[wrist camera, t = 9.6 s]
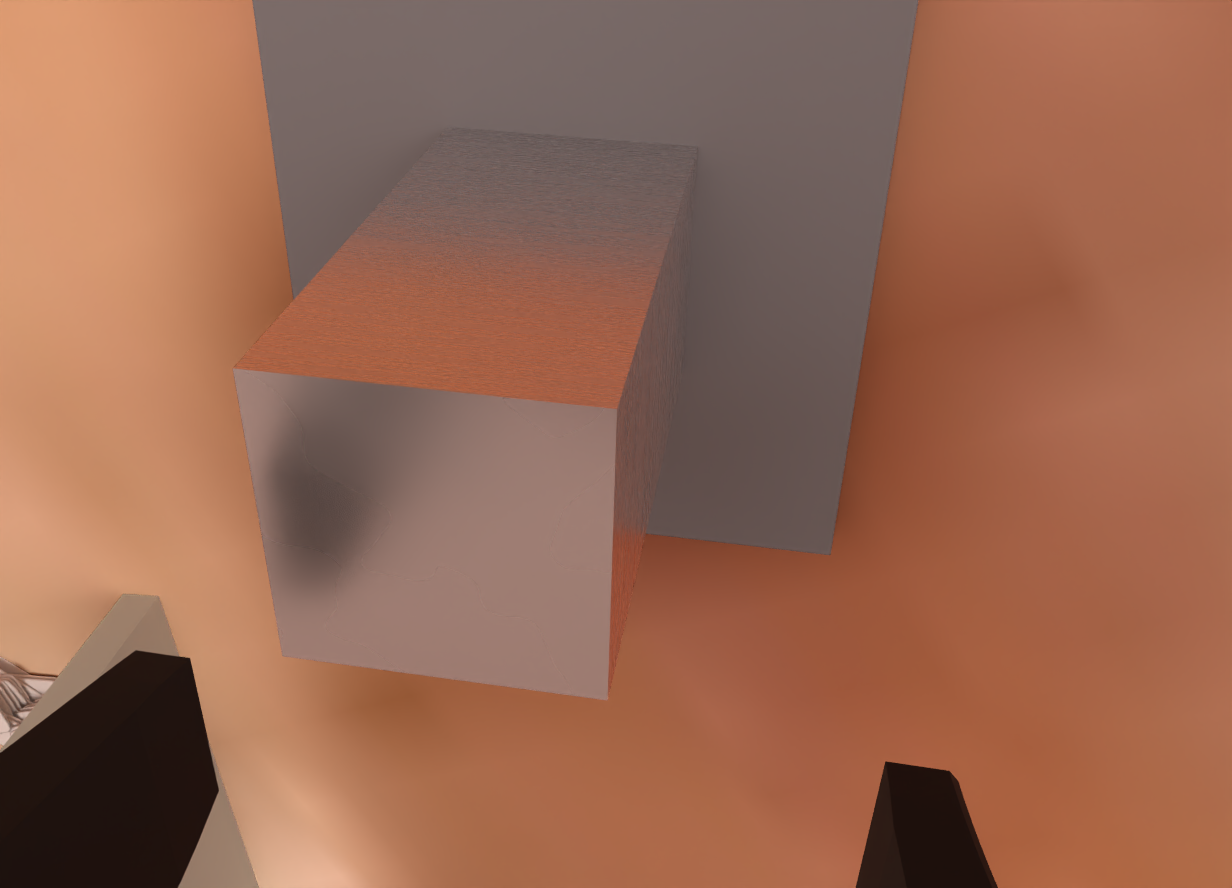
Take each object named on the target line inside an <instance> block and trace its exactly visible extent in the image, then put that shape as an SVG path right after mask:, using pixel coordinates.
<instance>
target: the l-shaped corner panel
mask: <svg viewBox="0 0 1232 888" xmlns="http://www.w3.org/2000/svg"><path fill="white" fill-rule="evenodd" d="M135 650H138V651H145V652H151V653H158V654H165V655H172V656H178V657H180V656H179V653H178V650H177V647H176V645H175V642H174V639H173V636H172V633H171V630H170V627H169V624H168V621H167V618H166V615H165V613H164V610H163V607H162V604H161V601H160V598H159V596H150V595H134V594H123V595H122V596H121V597H120V598H119V600H118V601H117V602H116V603H115V605H114V606H113V607H112V609H111V610H110V611H109V612H108V614H107V615H106V616H105V617H104V619H103V620H102V621H101V623H100V624H99V625H98V626H97V628H96V629H95V630H94V631H93V633H92V634H91V635H90V637H89V638H88V639H87V640H86V642H85V643H84V644H83V645H82V647H81V648H80V649H79V650H78V652H77V653H76V654H75V656H74V657H73V658H72V659H71V661H70V662H69V663H68V664H67V666H66V667H65V668H64V670H63V671H62V672H61V673H60V675H59V676H58V677H57V678H56V677H47V676H34V675H30V674H28V673H27V672H25V671H23V670H22V669H20V668H18V667H17V666H15V665H14V664H12V663H10V662H9V661H7V660H6V659H4V658H2V657H1V656H0V744H1V745H3V747H2V748H1V750H0V752H2V751H3V750H4V749H6V748H7V747H9V746H10V745H11V744H13V743H14V742H15V741H16V740H18V739H19V738H20V737H22V736H23V735H24V734H26V733H27V732H28V731H30V730H31V729H32V728H34V727H35V726H36V725H37V724H39V723H40V722H41V721H43V720H44V719H45V718H47V717H48V716H49V715H51V714H52V713H53V712H55V711H56V710H57V709H58V708H60V707H61V706H62V705H64V704H65V703H66V702H68V701H69V700H70V699H71V698H73V697H74V696H75V695H77V694H78V693H79V692H81V691H82V690H83V689H85V688H86V687H87V686H89V685H90V684H91V683H92V682H94V681H95V680H96V679H98V678H99V677H100V676H102V675H103V674H104V673H106V672H107V671H108V670H110V669H111V668H112V667H114V666H115V665H116V664H118V663H119V662H120V661H122V660H123V659H124V658H126V657H127V656H128V655H130V654H131V653H133V652H134V651H135ZM208 742H209V741H208ZM209 747H210V744H209ZM210 752H211V756H212V761H213V765H214V770H215V774H216V779H217V783H218V788H219V792H218V795H217V797H216V800H215V802H214V805H213V807H212V810H211V812H210V814H209V817H208V819H207V822H206V824H205V827H204V829H203V832H202V834H201V837H200V839H199V842H198V844H197V846H196V849H195V851H194V853H193V856H192V858H191V860H190V862H189V865H188V867H187V869H186V872H185V874H184V876H183V878H182V881H181V883H180V885H179V886H178V888H259V886H258V883H257V881H256V878H255V875H254V872H253V869H252V866H251V863H250V860H249V857H248V854H247V851H246V849H245V846H244V843H243V840H242V837H241V834H240V831H239V828H238V825H237V822H236V819H235V816H234V814H233V811H232V808H231V805H230V802H229V799H228V796H227V793H226V790H225V787H224V784H223V782H222V779H221V776H220V773H219V770H218V767H217V764H216V761H215V758H214V755H213V752H212V749H211V747H210Z"/></svg>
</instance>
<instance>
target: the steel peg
mask: <svg viewBox="0 0 1232 888" xmlns="http://www.w3.org/2000/svg"><path fill="white" fill-rule="evenodd" d="M697 152H698V147H697V146H684V145H671V144H659V143H646V142H633V141H621V140H608V139H595V138H583V137H570V136H557V135H545V134H532V133H519V132H507V131H494V130H481V129H469V128H456V127H448V128H447V129H446V130H445V131H444V132H443V133H442V134H441V135H440V136H439V138H438V139H437V140H436V141H435V142H434V143H433V144H432V145H431V147H430V148H429V149H428V150H427V151H426V152H425V153H424V154H423V156H422V157H421V158H420V159H419V160H418V161H417V162H416V163H415V165H414V166H413V167H412V168H411V169H410V170H409V171H408V172H407V174H406V175H405V176H404V177H403V178H402V179H401V180H400V181H399V182H398V184H397V185H396V186H395V187H394V188H393V189H392V190H391V191H390V193H389V194H388V195H387V196H386V197H385V198H384V199H383V200H382V202H381V203H380V204H379V205H378V206H377V207H376V208H375V209H374V211H373V212H372V213H371V214H370V215H369V216H368V217H367V218H366V219H365V221H364V222H363V223H362V224H361V225H360V226H359V227H358V228H357V230H356V231H355V232H354V233H353V234H352V235H351V236H350V237H349V239H348V240H347V241H346V242H345V243H344V244H343V245H342V246H341V248H340V249H339V250H338V251H337V252H336V253H335V254H334V255H333V257H332V258H331V259H330V260H329V261H328V262H327V263H326V264H325V265H324V267H323V268H322V269H321V270H320V271H319V272H318V273H317V274H316V276H315V277H314V278H313V279H312V280H311V281H310V282H309V283H308V285H307V286H306V287H305V288H304V289H303V290H302V291H301V292H300V294H299V295H298V296H297V297H296V298H295V299H294V300H293V301H292V302H291V304H290V305H289V306H288V307H287V308H286V309H285V310H284V311H283V313H282V314H281V315H280V316H279V317H278V318H277V319H276V320H275V322H274V323H273V324H272V325H271V326H270V327H269V328H268V329H267V331H266V332H265V333H264V334H263V335H262V336H261V337H260V338H259V339H258V341H257V342H256V343H255V344H254V345H253V346H252V347H251V348H250V350H249V351H248V352H247V353H246V354H245V355H244V356H243V357H242V359H241V360H240V361H239V362H238V363H237V364H236V365H235V366H234V368H233V372H234V378H235V384H236V390H237V396H238V401H239V407H240V413H241V419H242V425H243V430H244V436H245V442H246V448H247V453H248V459H249V465H250V471H251V477H252V482H253V488H254V494H255V500H256V506H257V511H258V517H259V523H260V529H261V535H262V540H263V546H264V552H265V558H266V564H267V569H268V575H269V581H270V587H271V592H272V598H273V604H274V610H275V616H276V621H277V627H278V633H279V639H280V645H281V650H282V656H285V657H292V658H300V659H307V660H314V661H322V662H329V663H337V664H344V665H351V666H359V667H366V668H373V669H381V670H388V671H395V672H403V673H410V674H417V675H425V676H432V677H439V678H447V679H454V680H461V681H469V682H476V683H483V684H491V685H498V686H506V687H513V688H520V689H528V690H535V691H542V692H550V693H557V694H564V695H572V696H579V697H586V698H594V699H601V700H608V696H609V692H610V688H611V683H612V679H613V674H614V670H615V666H616V661H617V657H618V653H619V648H620V644H621V639H622V635H623V631H624V626H625V622H626V618H627V613H628V609H629V605H630V600H631V596H632V591H633V587H634V583H635V578H636V574H637V570H638V565H639V561H640V556H641V552H642V548H643V543H644V539H645V535H646V530H647V526H648V522H649V517H650V513H651V508H652V504H653V500H654V495H655V491H656V487H657V482H658V478H659V473H660V469H661V465H662V460H663V456H664V452H665V447H666V443H667V438H668V434H669V430H670V425H671V421H672V417H673V412H674V408H675V404H676V399H677V395H678V390H679V386H680V382H681V377H682V373H683V362H684V347H685V332H686V317H687V302H688V287H689V272H690V257H691V242H692V227H693V212H694V197H695V182H696V167H697Z"/></svg>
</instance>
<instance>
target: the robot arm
mask: <svg viewBox="0 0 1232 888" xmlns="http://www.w3.org/2000/svg"><path fill="white" fill-rule="evenodd" d="M218 792H219V788H218V783H217V779H216V774H215V770H214V765H213V761H212V756H211V752H210V747H209V742H208V738H207V733H206V729H205V724H204V720H203V715H202V711H201V706H200V702H199V697H198V693H197V688H196V683H195V679H194V674H193V670H192V665H191V661H190V658H185V657H178V656H172V655H165V654H158V653H151V652H145V651H138V650H135V651H134V652H133V653H131V654H130V655H128V656H127V657H126V658H124V659H123V660H122V661H120V662H119V663H118V664H116V665H115V666H114V667H112V668H111V669H110V670H108V671H107V672H106V673H104V674H103V675H102V676H100V677H99V678H98V679H96V680H95V681H94V682H92V683H91V684H90V685H89V686H87V687H86V688H85V689H83V690H82V691H81V692H79V693H78V694H77V695H75V696H74V697H73V698H71V699H70V700H69V701H68V702H66V703H65V704H64V705H62V706H61V707H60V708H58V709H57V710H56V711H55V712H53V713H52V714H51V715H49V716H48V717H47V718H45V719H44V720H43V721H41V722H40V723H39V724H37V725H36V726H35V727H34V728H32V729H31V730H30V731H28V732H27V733H26V734H24V735H23V736H22V737H20V738H19V739H18V740H16V741H15V742H14V743H13V744H11V745H10V746H9V747H7V748H6V749H4V750H3V751H2V752H0V888H178V886H179V885H180V883H181V881H182V878H183V876H184V874H185V872H186V869H187V867H188V865H189V862H190V860H191V858H192V856H193V853H194V851H195V849H196V846H197V844H198V842H199V839H200V837H201V834H202V832H203V829H204V827H205V824H206V822H207V819H208V817H209V814H210V812H211V810H212V807H213V805H214V802H215V800H216V797H217V795H218ZM856 888H998V887H997V884H996V882H995V880H994V877H993V875H992V872H991V870H990V868H989V865H988V863H987V860H986V858H985V855H984V853H983V850H982V847H981V845H980V842H979V840H978V837H977V834H976V832H975V829H974V826H973V824H972V821H971V818H970V815H969V812H968V809H967V807H966V804H965V801H964V798H963V795H962V792H961V788H960V785H959V782H958V780H957V779H956V778H955V777H954V776H953V775H952V773H951V772H950V771H946V770H939V769H933V768H926V767H919V766H912V765H906V764H899V763H892V762H885V766H884V770H883V775H882V779H881V783H880V787H879V792H878V796H877V800H876V804H875V808H874V813H873V817H872V821H871V825H870V830H869V834H868V838H867V842H866V847H865V851H864V855H863V859H862V864H861V868H860V872H859V876H858V881H857V885H856Z"/></svg>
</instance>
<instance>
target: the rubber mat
mask: <svg viewBox="0 0 1232 888" xmlns="http://www.w3.org/2000/svg"><path fill="white" fill-rule="evenodd" d="M252 1H253V8H254V15H255V23H256V30H257V37H258V44H259V52H260V59H261V66H262V74H263V81H264V88H265V95H266V103H267V110H268V117H269V125H270V132H271V139H272V146H273V154H274V161H275V168H276V175H277V183H278V190H279V197H280V205H281V212H282V219H283V226H284V234H285V241H286V248H287V256H288V263H289V270H290V277H291V285H292V292H293V299H295V298H296V297H297V296H298V295H299V294H300V292H301V291H302V290H303V289H304V288H305V287H306V286H307V285H308V283H309V282H310V281H311V280H312V279H313V278H314V277H315V276H316V274H317V273H318V272H319V271H320V270H321V269H322V268H323V267H324V265H325V264H326V263H327V262H328V261H329V260H330V259H331V258H332V257H333V255H334V254H335V253H336V252H337V251H338V250H339V249H340V248H341V246H342V245H343V244H344V243H345V242H346V241H347V240H348V239H349V237H350V236H351V235H352V234H353V233H354V232H355V231H356V230H357V228H358V227H359V226H360V225H361V224H362V223H363V222H364V221H365V219H366V218H367V217H368V216H369V215H370V214H371V213H372V212H373V211H374V209H375V208H376V207H377V206H378V205H379V204H380V203H381V202H382V200H383V199H384V198H385V197H386V196H387V195H388V194H389V193H390V191H391V190H392V189H393V188H394V187H395V186H396V185H397V184H398V182H399V181H400V180H401V179H402V178H403V177H404V176H405V175H406V174H407V172H408V171H409V170H410V169H411V168H412V167H413V166H414V165H415V163H416V162H417V161H418V160H419V159H420V158H421V157H422V156H423V154H424V153H425V152H426V151H427V150H428V149H429V148H430V147H431V145H432V144H433V143H434V142H435V141H436V140H437V139H438V138H439V136H440V135H441V134H442V133H443V132H444V131H445V130H446V129H447V128H448V127H456V128H469V129H481V130H494V131H507V132H519V133H532V134H545V135H557V136H570V137H583V138H595V139H608V140H621V141H633V142H646V143H659V144H671V145H684V146H697V147H698V152H697V167H696V182H695V197H694V212H693V227H692V242H691V257H690V272H689V287H688V302H687V317H686V332H685V347H684V362H683V373H682V377H681V382H680V386H679V390H678V395H677V399H676V404H675V408H674V412H673V417H672V421H671V425H670V430H669V434H668V438H667V443H666V447H665V452H664V456H663V460H662V465H661V469H660V473H659V478H658V482H657V487H656V491H655V495H654V500H653V504H652V508H651V513H650V517H649V522H648V526H647V530H646V534H654V535H662V536H671V537H679V538H688V539H696V540H705V541H713V542H722V543H730V544H739V545H748V546H756V547H765V548H773V549H782V550H790V551H799V552H807V553H816V554H824V555H831V548H832V542H833V536H834V530H835V523H836V517H837V511H838V504H839V498H840V492H841V485H842V479H843V473H844V466H845V460H846V454H847V448H848V441H849V435H850V429H851V422H852V416H853V410H854V403H855V397H856V391H857V384H858V378H859V372H860V366H861V359H862V353H863V347H864V340H865V334H866V328H867V321H868V315H869V309H870V302H871V296H872V290H873V284H874V277H875V271H876V265H877V258H878V252H879V246H880V239H881V233H882V227H883V220H884V214H885V208H886V202H887V195H888V189H889V183H890V176H891V170H892V164H893V157H894V151H895V145H896V138H897V132H898V126H899V120H900V113H901V107H902V101H903V94H904V88H905V82H906V75H907V69H908V63H909V56H910V50H911V44H912V38H913V31H914V25H915V19H916V12H917V6H918V0H252Z"/></svg>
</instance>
